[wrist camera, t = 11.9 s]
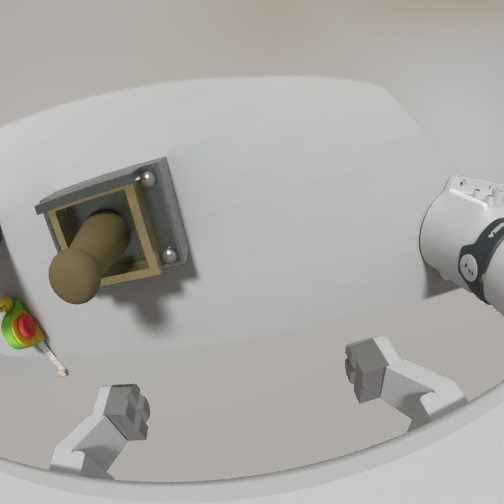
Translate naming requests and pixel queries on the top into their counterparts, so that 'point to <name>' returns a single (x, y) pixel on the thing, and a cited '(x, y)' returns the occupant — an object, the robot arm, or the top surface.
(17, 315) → the toy measuring tape
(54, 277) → the cork
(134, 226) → the grey wooden box
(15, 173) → the top surface
